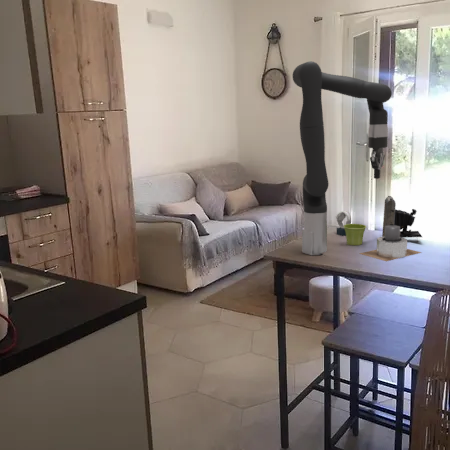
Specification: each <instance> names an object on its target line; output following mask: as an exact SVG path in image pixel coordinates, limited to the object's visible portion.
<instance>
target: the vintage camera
mask: <svg viewBox="0 0 450 450" xmlns="http://www.w3.org/2000/svg"><path fill="white" fill-rule="evenodd" d="M396 206H397V205H396V201H395V199H394V198H393V197H392V196H391V195H388V196H387V197H385V199H384V209H383V222H382V235H381V237H383V236H385V226H388V225H396V226H400V237H403V238H423V235H421V233H420V232H419V230H412V229H409V230H408V227H412V226H413V224H414V222H415V219H416V216H415V215H416V214H417V212H418V211H417V210H416V209H414V208H412V209H411V212H410V213H409V212H407V211H404V210H402V209H396ZM416 242H417V243H418V240H416Z"/></svg>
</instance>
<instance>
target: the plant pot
mask: <svg viewBox="0 0 450 450" xmlns="http://www.w3.org/2000/svg"><path fill="white" fill-rule="evenodd" d="M343 225H344V228H345V232H346V236H345V240H346V246H361V245H362V244H363V239H364V236H365V235H364V233H365V230H366V228H367V225H365V224H362V223H351V224H346V223H345V224H343Z"/></svg>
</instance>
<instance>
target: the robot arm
mask: <svg viewBox="0 0 450 450" xmlns="http://www.w3.org/2000/svg"><path fill="white" fill-rule="evenodd" d="M292 81H293V83H294V84H295V85H296V86H297V87H299V88H301V91H302V93H301V94H302V107H301V111H300V117H299V135H300V142H301V147H302V150H303V154H304V158H305V163H306V166H305V167H306V175H305V176H304V178H303V180H302V203H303V229H302V230H301V234H302V235H301V252H302V254H306V255H310V256H321V255H323V254H324V253H326V252H327V251H328V248H327V247H328V203H327V200H326V199H327V197H326V193H327V191H328V189H329V184H330V183H329V178H328V173H327V166H326V160H325V158H326V157H325V152H326V151H325V149H326V147H325V144H326V143H325V141H326V140H325V129H324V128H325V124H324V114H323V104H322V103H323V102H322V90H324V91H330V92H333V93H336V94H340V95H345V96H347V97H352V98H356V99H366V104H367V109H368V112H369V120H368V121H369V122H368V124H369V125H368V139H367V141H368V142H367V146H368V147H367V148H369V149H372V152H371V156H370V157H369V160H370V165H371V169H373V179H375V180H377V179H380V178H381V169H382V167H383V165H384V160H385V157H386V156H385V154H384V149H386V148H387V147H388V141H389V140H388V137H389V128H388V121H389V119H388V117H389V115H388V111H387V110H386V109H385V108H384V103H386V102H388V101H390V99H391V98H392V95H393V93H392V92H393V91H392V89H391V88H390V86H389V85H387V84H384V83H379V82H372V81H366V80H364V79H361V78H355V77H353V76H347V75H346V76H345V75H338V74H337V75H336V74H331V73H327V72H323V71H322V69H321V67H320V65H319V64H318V63H317V62H315V61H306V62H303V63H301V64H299V65H297V66H296V67H295V68H294V70H293V72H292Z"/></svg>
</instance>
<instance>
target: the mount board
mask: <svg viewBox="0 0 450 450" xmlns="http://www.w3.org/2000/svg"><path fill="white" fill-rule="evenodd" d="M358 253H359V255H362V256H366V257H370V258H373V259H375V260H380V261H383V262H389V261H394V260H398V259H399V258H386V257H382V256H379V255H378V254H377V248H376V249H372V250H368V251H367V250H366V251H364V252H358ZM422 253H423V252H421V251H418V250H414V249H410V248H407V255H406V256H405V257H410V256H414V255H418V254H422ZM405 257H404V258H405ZM401 258H403V257H401ZM401 258H400V259H401Z"/></svg>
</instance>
